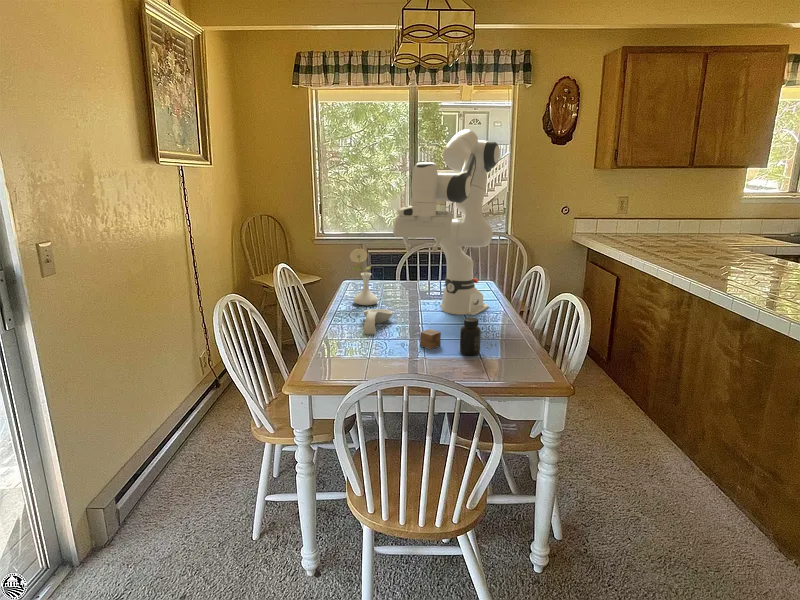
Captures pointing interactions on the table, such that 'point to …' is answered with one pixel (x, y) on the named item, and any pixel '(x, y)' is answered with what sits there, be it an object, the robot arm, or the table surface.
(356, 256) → the flower in vase
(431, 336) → the walnut cube
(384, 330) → the table surface
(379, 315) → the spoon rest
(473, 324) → the supplement bottle
